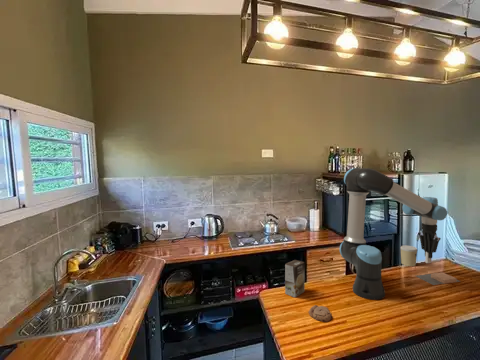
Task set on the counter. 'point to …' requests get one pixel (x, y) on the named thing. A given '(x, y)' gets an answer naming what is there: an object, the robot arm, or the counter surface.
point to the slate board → (431, 279)
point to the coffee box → (294, 278)
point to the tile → (443, 277)
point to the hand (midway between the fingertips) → (428, 262)
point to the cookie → (320, 313)
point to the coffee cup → (408, 255)
